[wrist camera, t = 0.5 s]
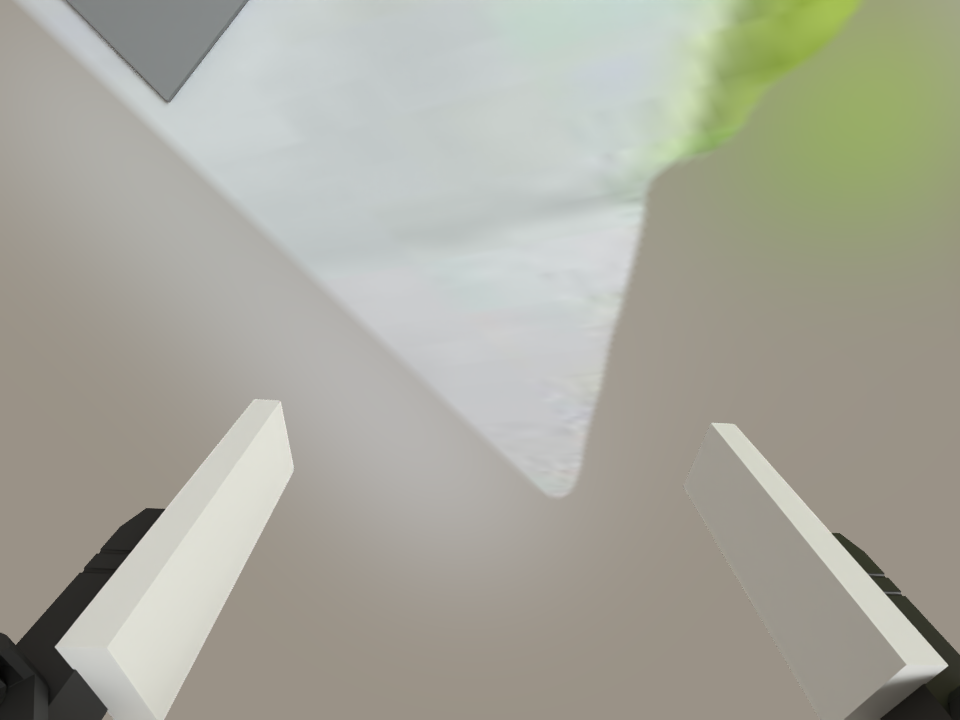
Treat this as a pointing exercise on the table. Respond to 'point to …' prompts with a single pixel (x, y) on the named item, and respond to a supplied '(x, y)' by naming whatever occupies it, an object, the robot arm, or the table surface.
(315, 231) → the table surface
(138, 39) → the mat
